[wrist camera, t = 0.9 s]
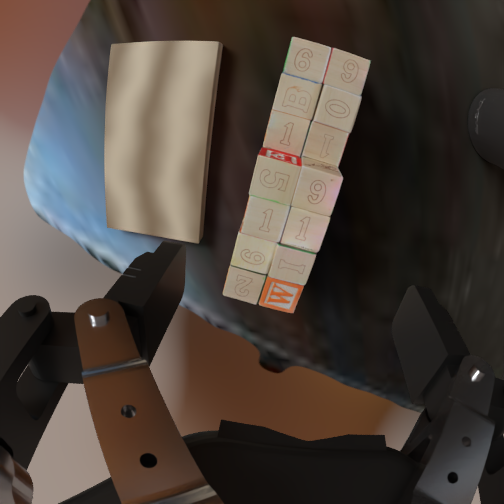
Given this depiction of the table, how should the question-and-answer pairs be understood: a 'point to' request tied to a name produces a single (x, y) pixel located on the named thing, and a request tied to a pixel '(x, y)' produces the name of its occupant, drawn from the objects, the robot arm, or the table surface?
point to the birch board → (160, 136)
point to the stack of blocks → (296, 175)
